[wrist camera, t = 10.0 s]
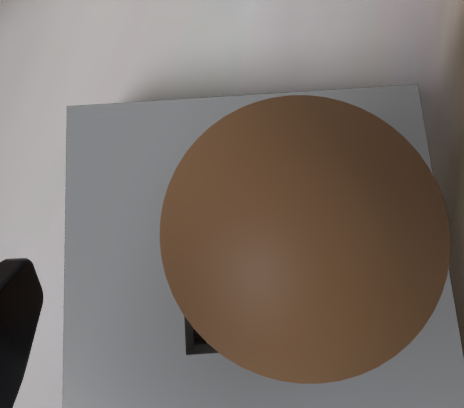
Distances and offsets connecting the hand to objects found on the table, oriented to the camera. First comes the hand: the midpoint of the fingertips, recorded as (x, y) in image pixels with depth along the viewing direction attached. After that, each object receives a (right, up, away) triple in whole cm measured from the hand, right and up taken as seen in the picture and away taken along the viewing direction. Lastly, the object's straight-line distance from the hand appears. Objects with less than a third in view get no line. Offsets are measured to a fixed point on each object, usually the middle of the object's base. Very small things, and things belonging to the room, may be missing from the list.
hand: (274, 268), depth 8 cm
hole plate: (0, -2, +9) cm, 10 cm away
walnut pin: (0, -2, +9) cm, 10 cm away
